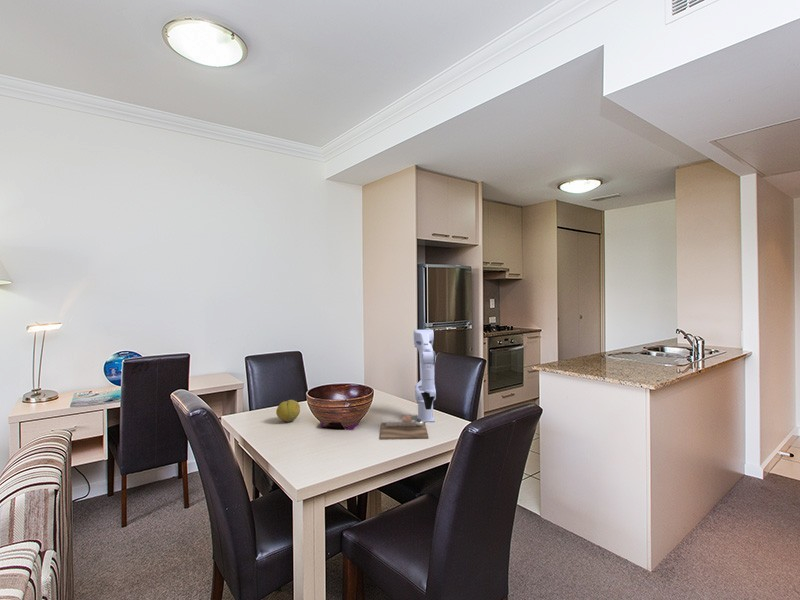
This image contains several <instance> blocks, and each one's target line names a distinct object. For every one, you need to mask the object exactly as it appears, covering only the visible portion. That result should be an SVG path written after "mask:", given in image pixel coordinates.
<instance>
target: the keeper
mask: <svg viewBox="0 0 800 600" xmlns="http://www.w3.org/2000/svg"><path fill="white" fill-rule="evenodd" d="M401 420H402V421H403V422H412V420H413V419H412V415H411V414H402V415H401ZM416 420H417V421H421V418H417V417H416Z"/></svg>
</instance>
